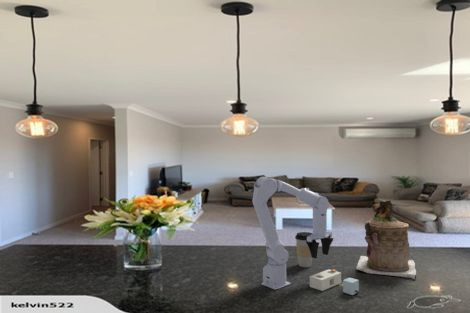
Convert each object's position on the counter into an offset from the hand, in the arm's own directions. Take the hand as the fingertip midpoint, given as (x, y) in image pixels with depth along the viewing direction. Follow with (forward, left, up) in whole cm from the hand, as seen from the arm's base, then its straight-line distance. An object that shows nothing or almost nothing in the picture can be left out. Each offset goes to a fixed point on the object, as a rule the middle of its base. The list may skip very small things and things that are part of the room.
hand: (319, 256), depth 154 cm
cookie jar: (+35, -11, -10) cm, 38 cm away
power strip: (-1, -5, -10) cm, 11 cm away
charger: (-3, -17, -10) cm, 20 cm away
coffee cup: (+11, +16, -10) cm, 22 cm away
